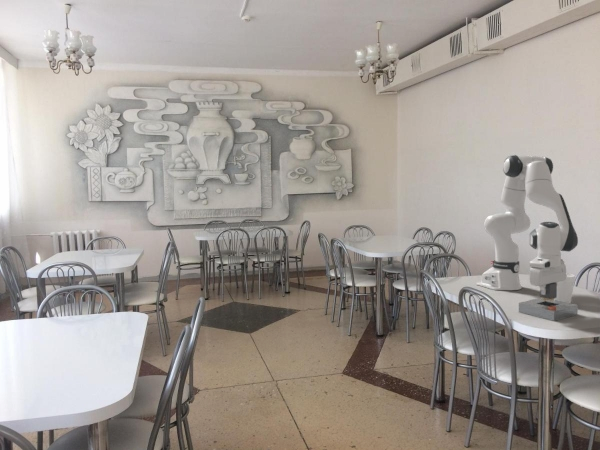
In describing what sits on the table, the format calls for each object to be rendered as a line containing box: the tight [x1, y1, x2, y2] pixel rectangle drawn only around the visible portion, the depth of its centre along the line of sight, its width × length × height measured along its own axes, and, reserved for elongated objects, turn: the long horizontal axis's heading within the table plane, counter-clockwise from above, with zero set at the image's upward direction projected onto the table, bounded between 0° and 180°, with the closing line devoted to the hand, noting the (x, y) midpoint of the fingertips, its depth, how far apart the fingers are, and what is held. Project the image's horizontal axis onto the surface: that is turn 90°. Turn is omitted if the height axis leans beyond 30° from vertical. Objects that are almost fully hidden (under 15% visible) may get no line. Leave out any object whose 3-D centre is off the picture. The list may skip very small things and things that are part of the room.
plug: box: [539, 283, 557, 302], centre depth 203 cm, size 4×4×8 cm
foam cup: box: [553, 272, 576, 304], centre depth 219 cm, size 10×9×13 cm
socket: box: [518, 297, 579, 322], centre depth 204 cm, size 16×16×5 cm
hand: (548, 293), depth 203 cm, fingers closed on plug, 4 cm apart
